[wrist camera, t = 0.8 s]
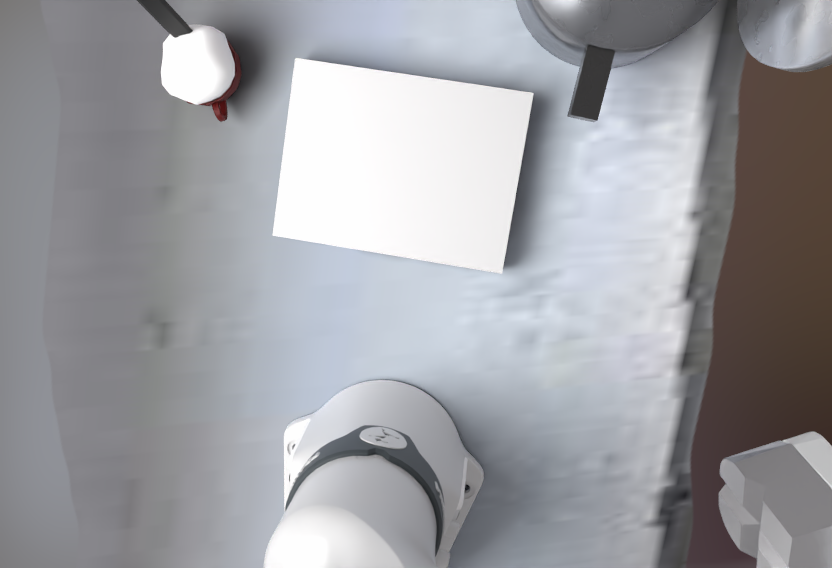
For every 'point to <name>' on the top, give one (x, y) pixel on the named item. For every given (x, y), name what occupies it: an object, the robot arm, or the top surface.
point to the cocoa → (196, 60)
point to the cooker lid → (787, 32)
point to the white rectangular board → (401, 164)
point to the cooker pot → (605, 37)
